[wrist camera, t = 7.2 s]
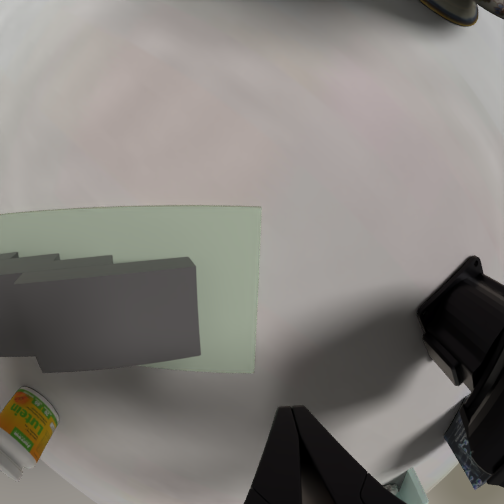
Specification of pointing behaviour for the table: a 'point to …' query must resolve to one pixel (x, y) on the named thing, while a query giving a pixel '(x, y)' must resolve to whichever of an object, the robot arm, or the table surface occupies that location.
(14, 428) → the supplement bottle
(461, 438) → the box
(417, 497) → the right angle wall
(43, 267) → the domino
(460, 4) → the apothecary jar
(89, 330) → the domino
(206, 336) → the rack
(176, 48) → the table surface
